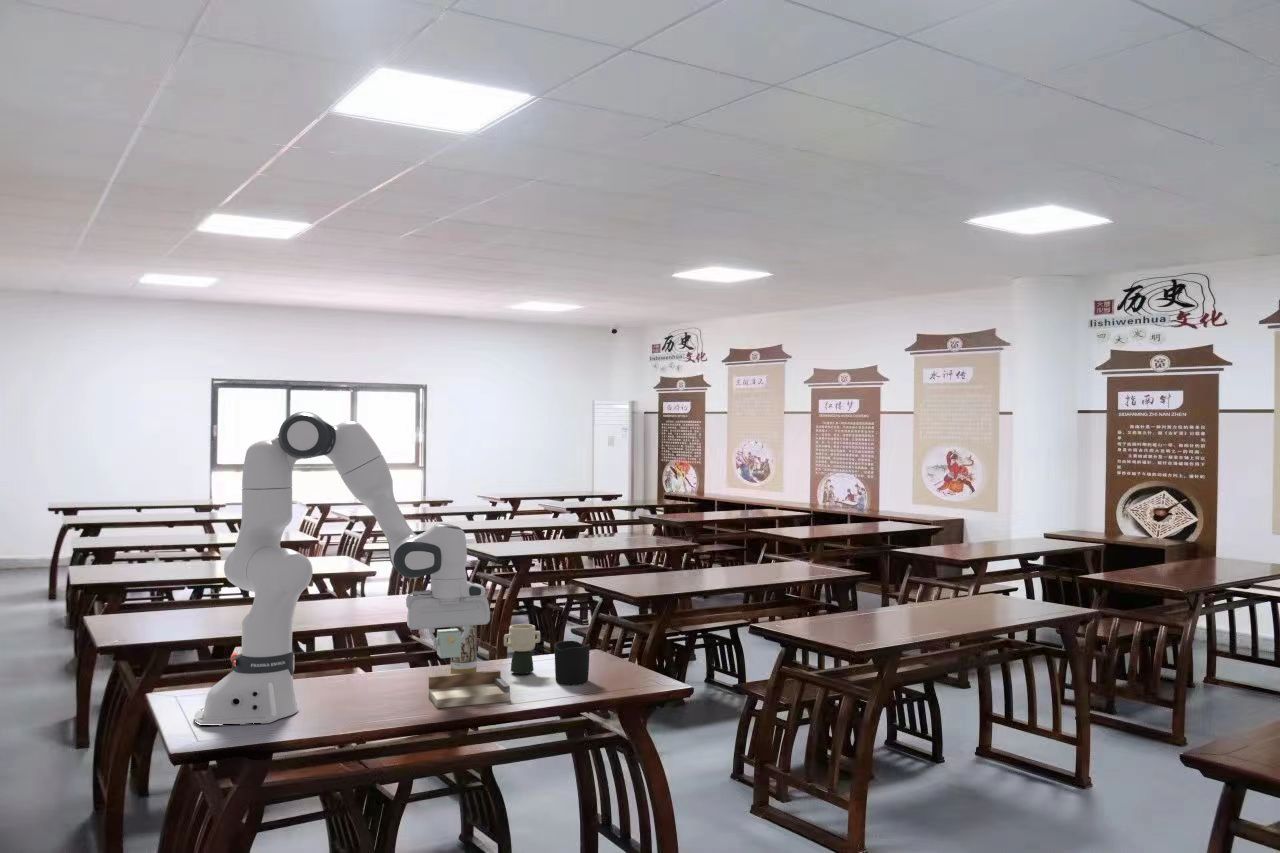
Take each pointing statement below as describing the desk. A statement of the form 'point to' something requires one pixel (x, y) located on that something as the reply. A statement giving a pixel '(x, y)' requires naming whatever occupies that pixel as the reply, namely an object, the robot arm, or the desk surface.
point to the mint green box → (449, 643)
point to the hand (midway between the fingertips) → (448, 644)
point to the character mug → (522, 646)
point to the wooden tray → (468, 689)
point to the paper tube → (466, 653)
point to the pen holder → (571, 662)
